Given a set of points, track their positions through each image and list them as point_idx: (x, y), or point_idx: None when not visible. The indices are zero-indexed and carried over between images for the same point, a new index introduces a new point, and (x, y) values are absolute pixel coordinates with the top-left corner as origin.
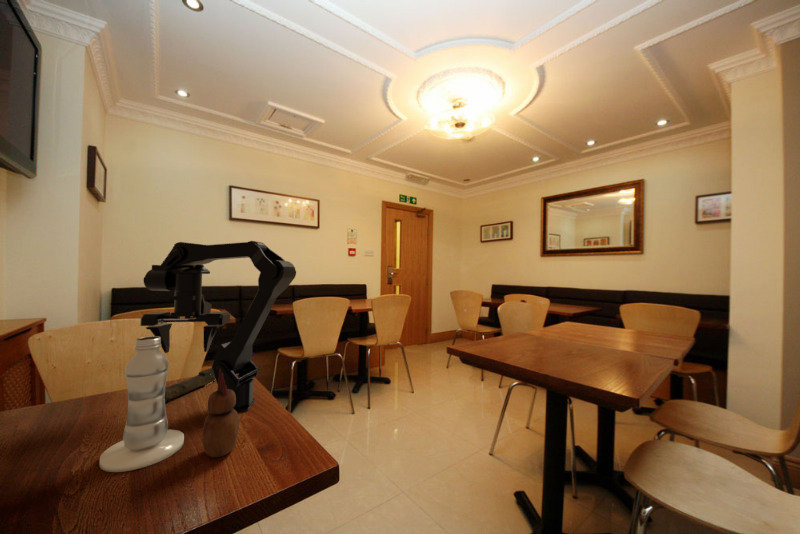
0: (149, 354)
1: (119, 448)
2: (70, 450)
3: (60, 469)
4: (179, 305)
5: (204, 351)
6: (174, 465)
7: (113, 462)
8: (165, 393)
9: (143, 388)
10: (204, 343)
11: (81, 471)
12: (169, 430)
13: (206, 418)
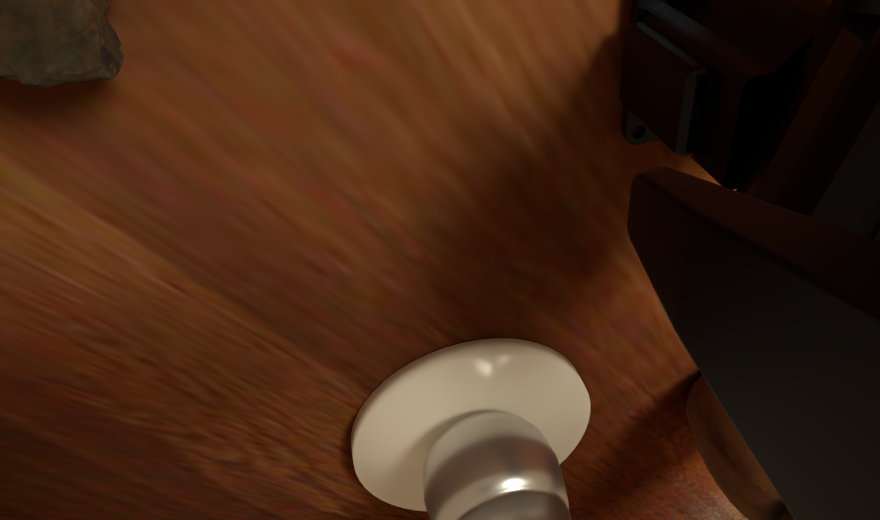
0: None
1: (397, 464)
2: (177, 467)
3: (283, 516)
4: None
5: (633, 239)
6: (609, 446)
7: None
8: (112, 75)
9: None
10: (733, 393)
11: (360, 507)
12: (494, 361)
13: (752, 517)
